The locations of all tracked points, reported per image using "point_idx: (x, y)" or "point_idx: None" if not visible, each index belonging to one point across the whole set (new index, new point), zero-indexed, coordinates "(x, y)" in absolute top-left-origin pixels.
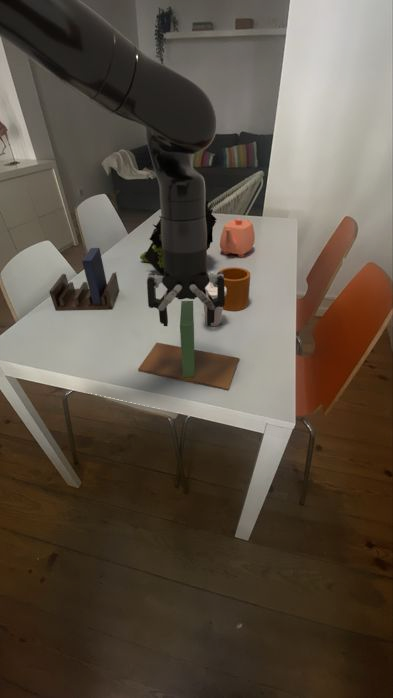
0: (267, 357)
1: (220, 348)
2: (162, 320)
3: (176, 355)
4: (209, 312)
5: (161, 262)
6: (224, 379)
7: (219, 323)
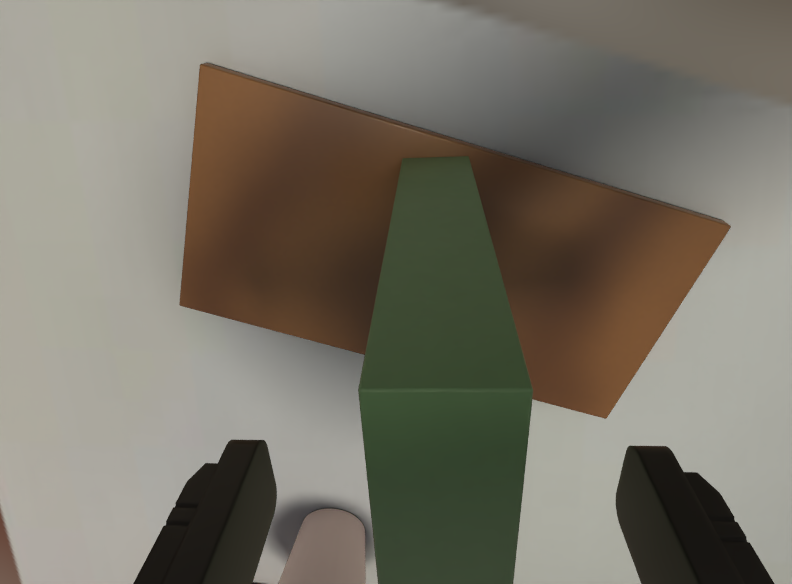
0: (52, 313)
1: (284, 375)
2: (697, 503)
3: None
4: (184, 570)
5: None
6: (232, 139)
7: (303, 521)
